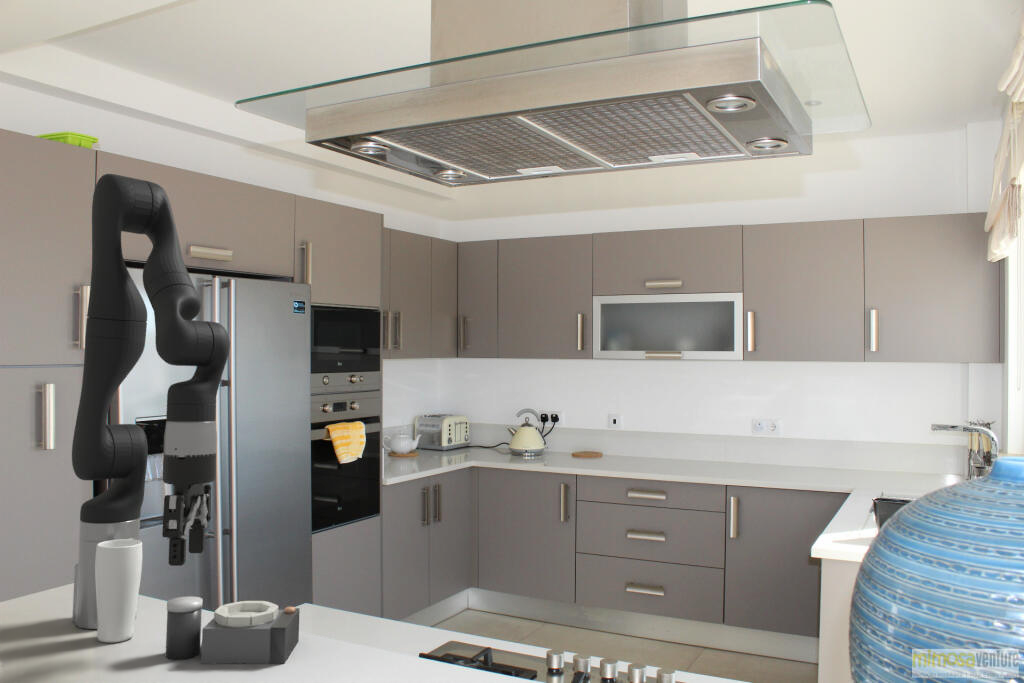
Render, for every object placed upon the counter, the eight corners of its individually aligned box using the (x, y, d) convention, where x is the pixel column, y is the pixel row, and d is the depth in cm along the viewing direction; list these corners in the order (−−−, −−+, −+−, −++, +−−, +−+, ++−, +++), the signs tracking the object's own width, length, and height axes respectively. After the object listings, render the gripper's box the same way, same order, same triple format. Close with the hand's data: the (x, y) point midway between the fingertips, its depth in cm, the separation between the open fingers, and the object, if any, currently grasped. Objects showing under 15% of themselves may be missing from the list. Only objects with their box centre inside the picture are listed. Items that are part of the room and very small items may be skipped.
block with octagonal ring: (201, 663, 119) (202, 618, 119) (221, 641, 128) (223, 599, 129) (284, 663, 119) (286, 618, 119) (298, 641, 129) (299, 600, 129)
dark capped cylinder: (157, 656, 121) (159, 602, 121) (184, 647, 125) (186, 594, 126) (181, 662, 119) (183, 607, 119) (207, 652, 123) (209, 599, 124)
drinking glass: (120, 647, 125) (124, 548, 126) (81, 643, 126) (86, 546, 127) (148, 633, 131) (152, 540, 132) (111, 630, 133) (115, 537, 134)
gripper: (181, 447, 130) (178, 549, 130) (146, 455, 116) (142, 569, 115) (228, 447, 131) (226, 549, 130) (200, 455, 117) (196, 569, 116)
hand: (186, 558), depth 123 cm, fingers open, 8 cm apart
